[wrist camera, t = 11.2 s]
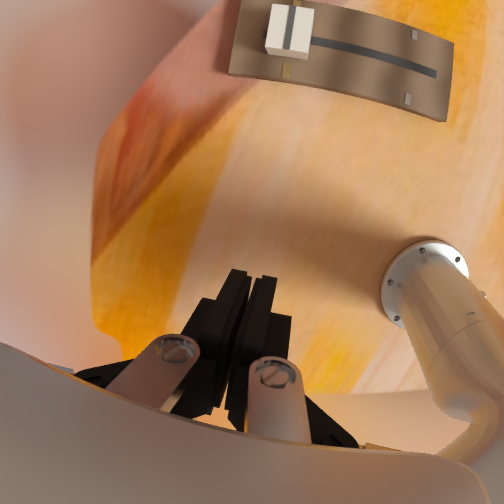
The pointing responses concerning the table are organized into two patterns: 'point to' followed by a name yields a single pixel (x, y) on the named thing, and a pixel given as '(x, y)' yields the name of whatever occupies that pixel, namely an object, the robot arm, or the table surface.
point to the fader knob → (289, 31)
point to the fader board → (351, 57)
